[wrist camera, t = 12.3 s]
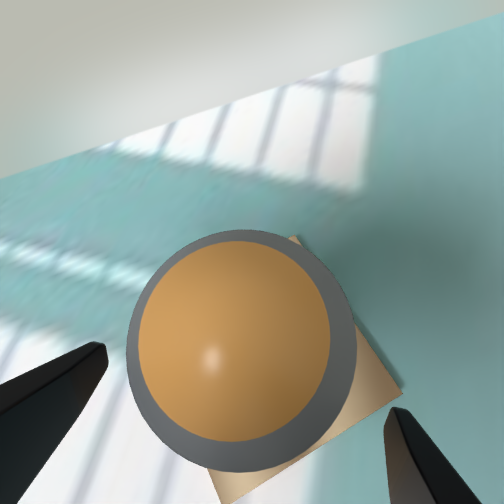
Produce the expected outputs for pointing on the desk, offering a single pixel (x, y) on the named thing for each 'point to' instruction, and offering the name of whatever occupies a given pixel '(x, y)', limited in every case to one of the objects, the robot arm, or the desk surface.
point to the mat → (354, 410)
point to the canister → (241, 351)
